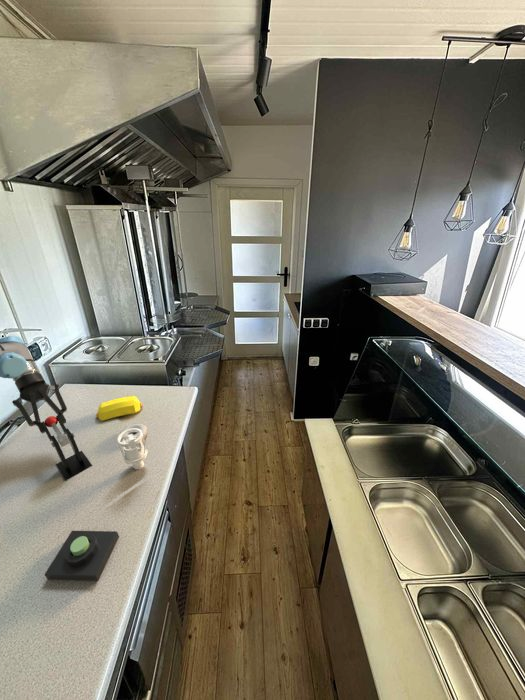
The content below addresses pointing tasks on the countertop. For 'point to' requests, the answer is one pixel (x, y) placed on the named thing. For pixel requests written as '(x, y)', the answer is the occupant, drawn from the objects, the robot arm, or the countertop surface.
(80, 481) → the countertop surface
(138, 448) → the white tall carved piece
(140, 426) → the donut
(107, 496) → the countertop surface
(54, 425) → the lever
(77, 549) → the button
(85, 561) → the black base plate
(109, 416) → the yellow bar
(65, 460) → the bracket
